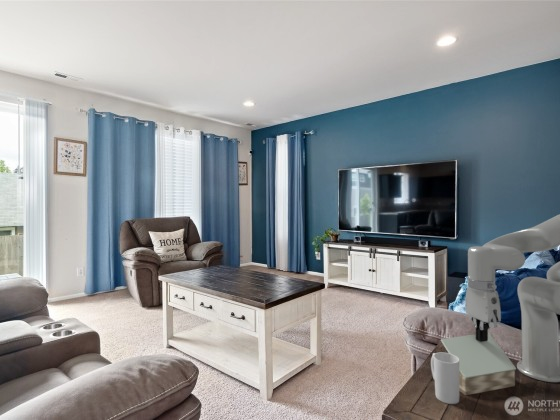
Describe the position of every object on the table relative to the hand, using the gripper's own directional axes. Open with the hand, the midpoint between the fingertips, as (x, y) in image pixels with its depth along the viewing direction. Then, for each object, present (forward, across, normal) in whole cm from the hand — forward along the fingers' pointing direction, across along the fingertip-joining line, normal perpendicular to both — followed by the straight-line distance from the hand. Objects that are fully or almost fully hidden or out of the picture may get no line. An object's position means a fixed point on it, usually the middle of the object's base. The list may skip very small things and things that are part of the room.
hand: (481, 340), depth 106 cm
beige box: (+12, -1, +4) cm, 13 cm away
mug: (+12, -5, +19) cm, 23 cm away
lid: (+3, -2, +4) cm, 6 cm away
